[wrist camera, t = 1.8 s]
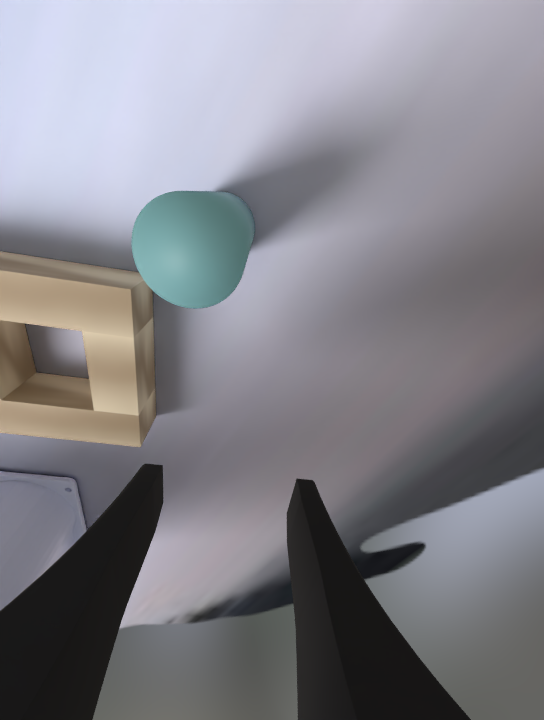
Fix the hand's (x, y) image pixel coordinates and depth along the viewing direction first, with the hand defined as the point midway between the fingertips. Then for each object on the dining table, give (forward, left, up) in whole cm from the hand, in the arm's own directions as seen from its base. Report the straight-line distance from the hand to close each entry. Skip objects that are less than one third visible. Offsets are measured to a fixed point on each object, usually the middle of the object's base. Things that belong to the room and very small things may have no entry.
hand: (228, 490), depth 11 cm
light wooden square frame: (0, +11, -9) cm, 14 cm away
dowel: (+8, +2, -9) cm, 13 cm away
